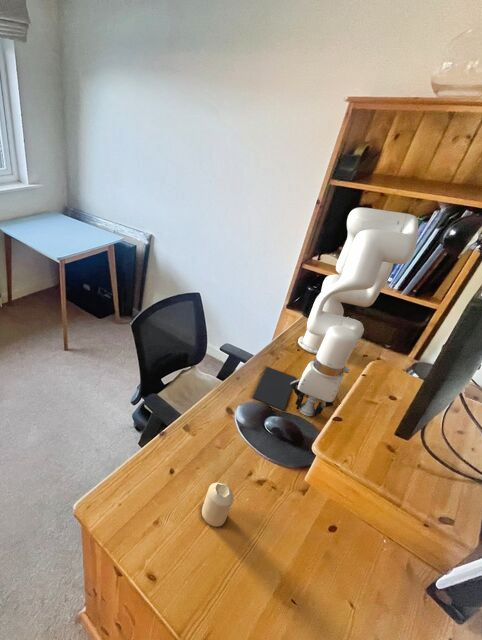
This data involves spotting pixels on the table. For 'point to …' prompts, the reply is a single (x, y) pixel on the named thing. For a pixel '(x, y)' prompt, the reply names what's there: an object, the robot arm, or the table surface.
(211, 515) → the candle
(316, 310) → the robot arm
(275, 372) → the felt mat
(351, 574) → the table surface
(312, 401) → the rook chess piece
